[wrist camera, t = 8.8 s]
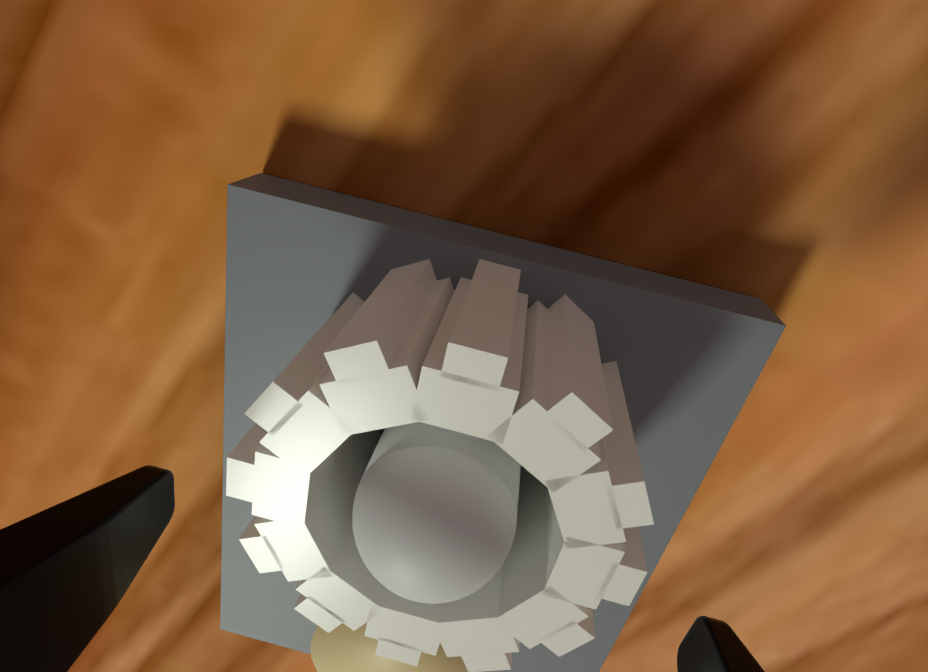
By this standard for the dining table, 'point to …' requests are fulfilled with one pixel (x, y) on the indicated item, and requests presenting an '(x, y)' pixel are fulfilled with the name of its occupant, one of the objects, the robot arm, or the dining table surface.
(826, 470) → the dining table surface
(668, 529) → the carrier board
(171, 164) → the dining table surface
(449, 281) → the planet gear
